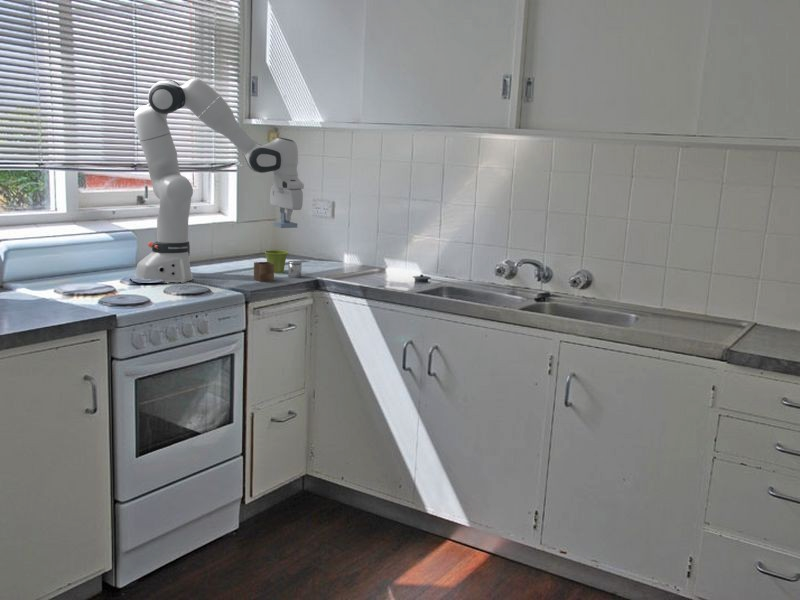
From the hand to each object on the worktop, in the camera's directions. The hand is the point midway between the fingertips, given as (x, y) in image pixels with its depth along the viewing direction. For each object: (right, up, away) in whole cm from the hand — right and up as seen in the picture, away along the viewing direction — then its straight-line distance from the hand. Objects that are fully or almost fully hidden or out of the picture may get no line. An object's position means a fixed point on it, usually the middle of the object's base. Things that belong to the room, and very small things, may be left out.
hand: (285, 219), depth 315 cm
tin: (+2, -21, +14) cm, 25 cm away
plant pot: (-7, -19, +23) cm, 31 cm away
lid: (0, -3, +1) cm, 3 cm away
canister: (-9, -23, +3) cm, 25 cm away
